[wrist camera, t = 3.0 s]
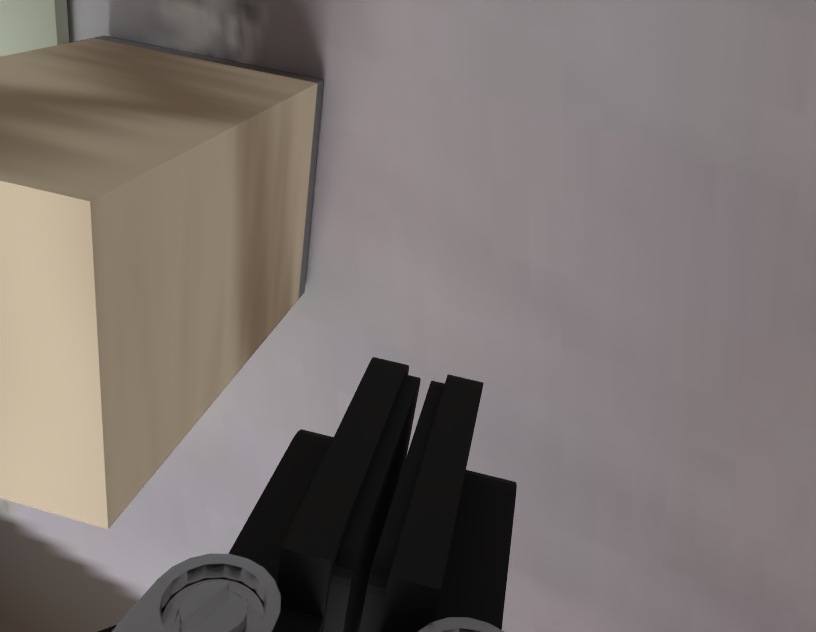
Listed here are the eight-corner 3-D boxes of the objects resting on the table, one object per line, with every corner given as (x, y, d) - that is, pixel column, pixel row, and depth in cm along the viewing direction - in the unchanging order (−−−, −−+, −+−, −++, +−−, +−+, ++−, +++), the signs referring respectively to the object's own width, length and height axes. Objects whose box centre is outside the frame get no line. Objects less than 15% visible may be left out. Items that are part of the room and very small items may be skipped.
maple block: (324, 79, 19) (89, 201, 10) (304, 291, 22) (107, 529, 13) (104, 35, 20) (-289, 114, 11) (113, 246, 23) (-194, 442, 14)
